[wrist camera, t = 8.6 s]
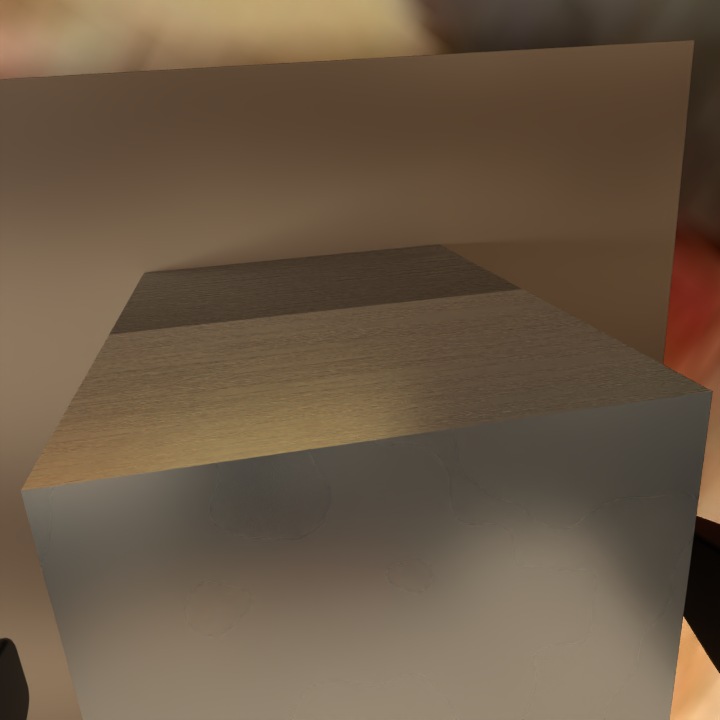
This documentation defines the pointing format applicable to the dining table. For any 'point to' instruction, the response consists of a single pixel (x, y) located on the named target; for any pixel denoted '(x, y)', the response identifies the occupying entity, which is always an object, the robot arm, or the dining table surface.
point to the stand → (315, 213)
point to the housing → (368, 501)
